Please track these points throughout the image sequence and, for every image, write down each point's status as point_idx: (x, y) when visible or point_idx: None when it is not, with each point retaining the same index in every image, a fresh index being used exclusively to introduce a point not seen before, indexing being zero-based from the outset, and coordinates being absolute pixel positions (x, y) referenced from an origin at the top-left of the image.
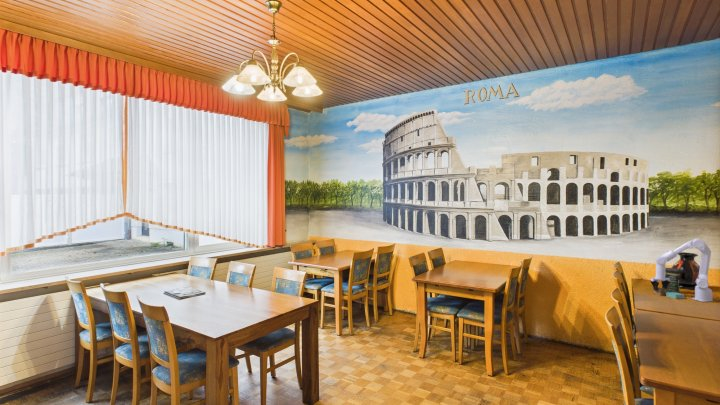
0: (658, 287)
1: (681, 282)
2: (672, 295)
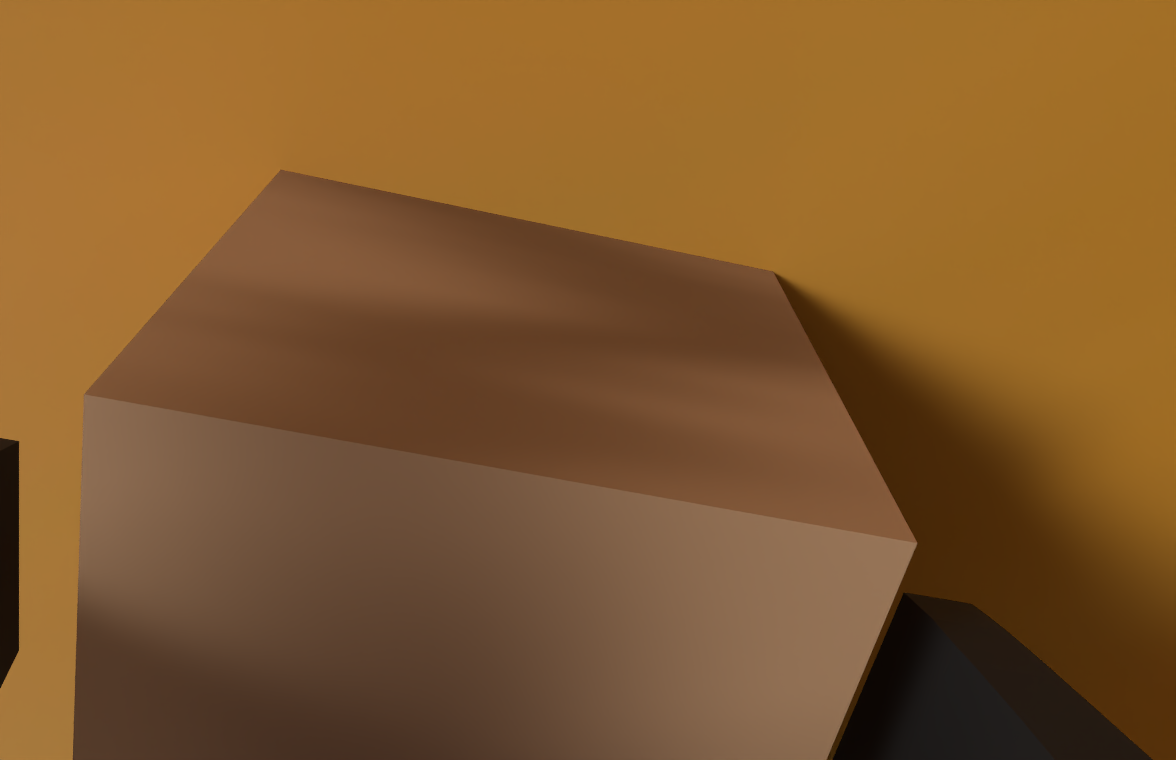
0: (688, 542)
1: None
2: None
